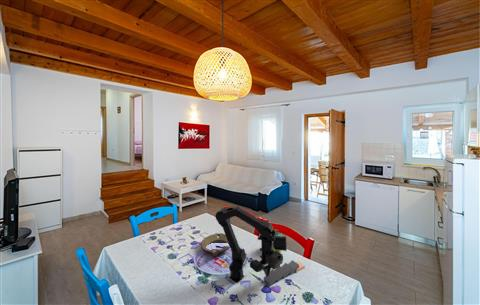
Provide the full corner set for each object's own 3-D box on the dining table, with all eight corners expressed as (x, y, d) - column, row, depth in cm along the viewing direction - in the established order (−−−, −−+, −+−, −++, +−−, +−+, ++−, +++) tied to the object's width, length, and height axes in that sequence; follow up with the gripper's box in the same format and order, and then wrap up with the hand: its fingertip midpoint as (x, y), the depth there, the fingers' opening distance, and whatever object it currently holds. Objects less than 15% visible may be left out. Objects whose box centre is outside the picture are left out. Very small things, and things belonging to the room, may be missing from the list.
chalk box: (265, 253, 138) (265, 231, 137) (269, 246, 146) (269, 226, 145) (279, 256, 134) (279, 234, 133) (282, 249, 143) (282, 228, 141)
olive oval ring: (238, 242, 152) (238, 232, 152) (219, 266, 125) (219, 254, 124) (212, 237, 161) (211, 228, 160) (188, 258, 133) (188, 247, 132)
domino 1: (269, 283, 107) (278, 273, 111) (263, 277, 111) (272, 269, 115) (270, 285, 108) (279, 276, 111) (264, 280, 112) (273, 271, 115)
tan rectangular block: (296, 270, 118) (304, 265, 122) (290, 265, 122) (298, 261, 126) (296, 273, 118) (304, 268, 122) (290, 268, 122) (298, 264, 126)
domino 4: (290, 272, 116) (298, 264, 119) (284, 267, 120) (292, 260, 123) (291, 274, 116) (299, 267, 119) (284, 269, 120) (292, 262, 124)
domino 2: (277, 279, 110) (285, 270, 114) (270, 274, 114) (279, 265, 118) (277, 281, 111) (286, 272, 114) (271, 276, 115) (279, 267, 118)
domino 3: (283, 275, 113) (292, 267, 116) (277, 270, 117) (285, 262, 120) (284, 278, 113) (292, 269, 117) (278, 273, 118) (286, 265, 121)
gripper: (263, 261, 96) (263, 292, 97) (290, 248, 107) (290, 277, 108) (249, 250, 105) (249, 279, 107) (275, 240, 116) (275, 266, 117)
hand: (267, 275), depth 109 cm, fingers closed
